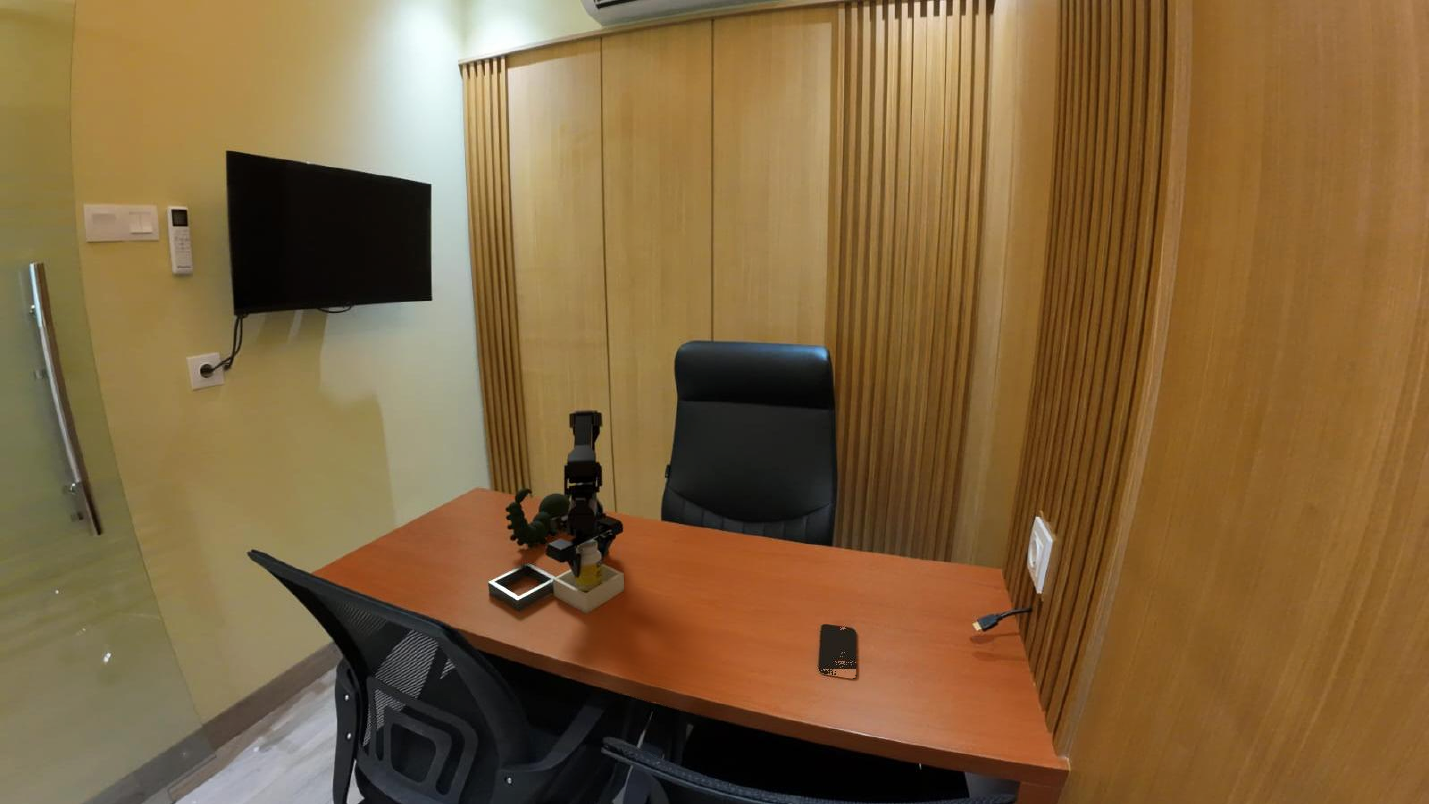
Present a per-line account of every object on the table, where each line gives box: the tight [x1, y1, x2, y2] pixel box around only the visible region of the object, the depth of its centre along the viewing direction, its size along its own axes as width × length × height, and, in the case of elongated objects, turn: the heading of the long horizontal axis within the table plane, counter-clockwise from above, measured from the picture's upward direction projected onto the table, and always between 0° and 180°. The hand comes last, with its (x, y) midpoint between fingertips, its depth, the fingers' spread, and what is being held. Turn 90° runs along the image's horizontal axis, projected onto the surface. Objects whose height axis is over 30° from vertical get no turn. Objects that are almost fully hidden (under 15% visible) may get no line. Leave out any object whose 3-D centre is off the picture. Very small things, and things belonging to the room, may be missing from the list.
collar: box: [487, 562, 556, 612], centre depth 128 cm, size 11×12×3 cm
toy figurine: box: [505, 487, 571, 549], centre depth 153 cm, size 9×19×25 cm
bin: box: [553, 563, 625, 615], centre depth 128 cm, size 12×12×4 cm
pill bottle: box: [574, 540, 603, 593], centre depth 126 cm, size 6×6×12 cm
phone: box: [817, 623, 858, 675], centre depth 109 cm, size 7×1×15 cm
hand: (588, 570), depth 127 cm, fingers closed on pill bottle, 6 cm apart
